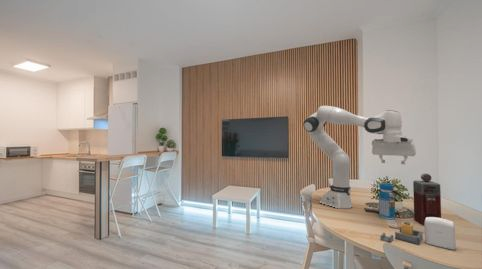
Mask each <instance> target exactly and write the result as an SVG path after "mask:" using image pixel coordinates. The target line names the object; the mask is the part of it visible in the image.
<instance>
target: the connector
mask: <svg viewBox="0 0 482 269" xmlns="http://www.w3.org/2000/svg"><path fill="white" fill-rule="evenodd" d="M400 225H401V226H400V227H401V233H402V234H406V235H410V236H413V230H414V224H413V223H411V222H407V221H402V222H401V224H400Z"/></svg>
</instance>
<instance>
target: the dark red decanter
mask: <svg viewBox="0 0 482 269" xmlns="http://www.w3.org/2000/svg"><path fill="white" fill-rule="evenodd" d="M420 179H421V180H413V183H412V185H413V190H412V192H413V220H414V221H415V222H416V223H418V224H419V225H421V226H423V227H425V224H424V222H425V219H426V217H438V218H442V197H441V195H442V193H441V192H442V191H441V184H440V183H437V182H435V181H432V176H431V175H430V174H429V173H422V174H421V175H420Z"/></svg>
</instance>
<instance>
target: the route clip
mask: <svg viewBox="0 0 482 269" xmlns="http://www.w3.org/2000/svg"><path fill="white" fill-rule="evenodd" d="M393 240H394V235H393V234H390V236H386V233H385V232H383V233H381V235H380V241H382V242H386V243H389V244H391V243H392V242H393Z"/></svg>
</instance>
